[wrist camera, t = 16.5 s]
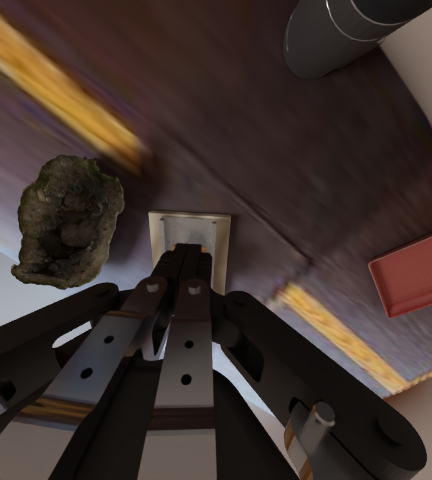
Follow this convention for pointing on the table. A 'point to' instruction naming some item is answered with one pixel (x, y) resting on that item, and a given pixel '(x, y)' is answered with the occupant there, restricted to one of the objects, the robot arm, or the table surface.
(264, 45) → the table surface
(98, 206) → the hollow geode rock
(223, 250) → the rail board
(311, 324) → the table surface
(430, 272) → the plant saucer
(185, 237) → the rail
